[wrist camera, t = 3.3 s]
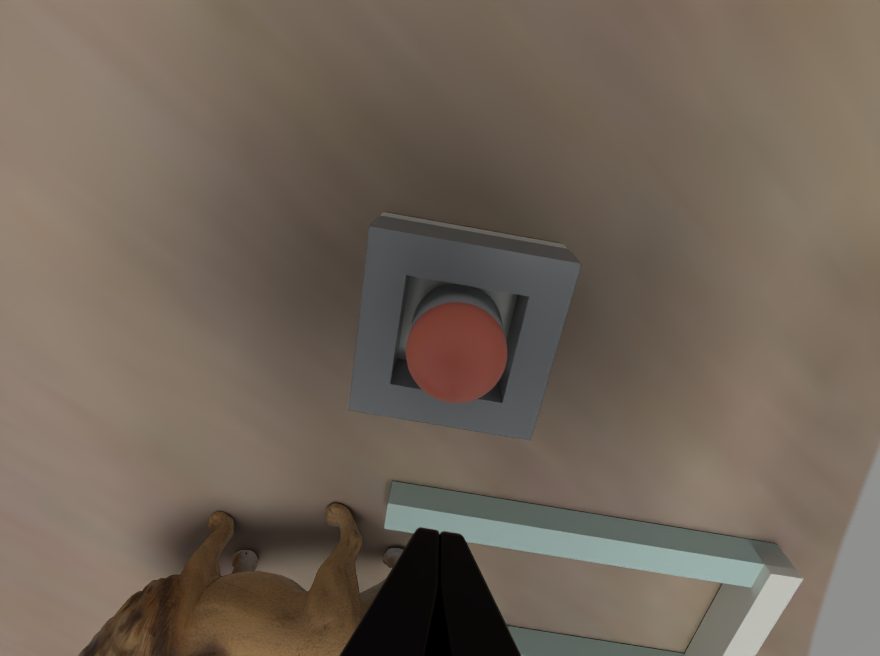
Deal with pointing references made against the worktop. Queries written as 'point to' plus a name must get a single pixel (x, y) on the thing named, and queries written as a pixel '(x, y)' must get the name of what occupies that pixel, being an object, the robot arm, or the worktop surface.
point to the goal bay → (617, 564)
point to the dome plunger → (456, 344)
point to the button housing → (471, 264)
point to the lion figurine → (244, 604)
